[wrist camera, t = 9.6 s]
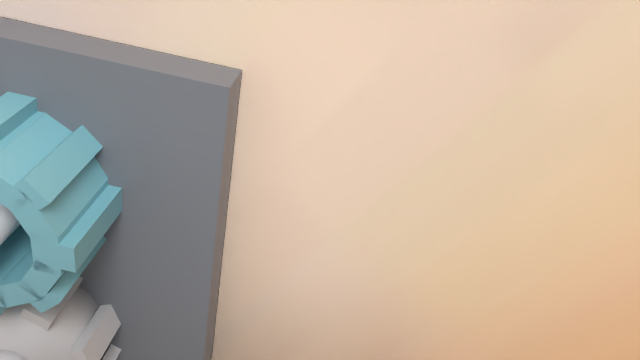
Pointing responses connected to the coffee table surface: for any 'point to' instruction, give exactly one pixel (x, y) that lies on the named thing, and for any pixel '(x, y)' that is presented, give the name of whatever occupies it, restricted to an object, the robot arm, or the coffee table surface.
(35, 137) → the teal gear
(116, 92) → the gear board
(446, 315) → the coffee table surface
